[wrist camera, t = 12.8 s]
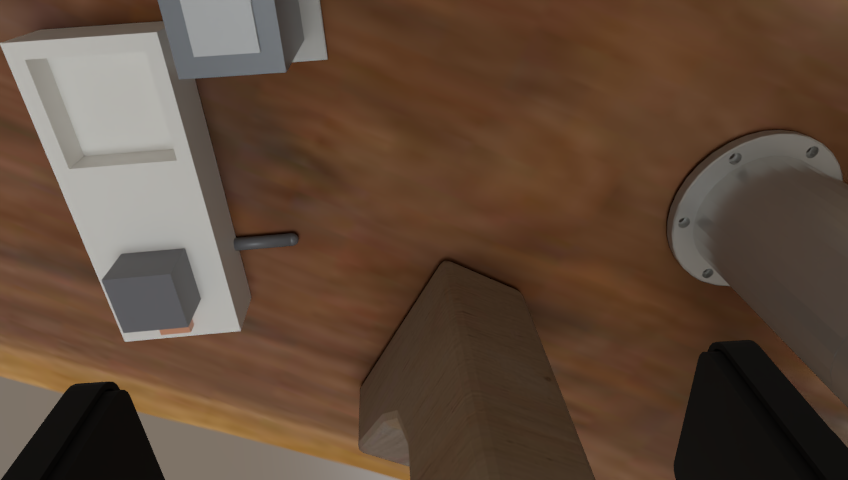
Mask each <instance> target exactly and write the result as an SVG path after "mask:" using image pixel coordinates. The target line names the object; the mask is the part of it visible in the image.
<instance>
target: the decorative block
mask: <svg viewBox="0 0 848 480" xmlns="http://www.w3.org/2000/svg"><path fill="white" fill-rule="evenodd" d="M358 446H359V449H360V450H361V451H362V452H363V453H366V454H369V455H373V456H376V457H379V458H383V459H386V460H389V461H393V462H396V463H399V464H403V465H406V466H410V480H595V477H594V475H593V472H592V470H591V467H590V465H589V462H588V460H587V457H586V454H585V452H584V449H583V447H582V444H581V442H580V439H579V437H578V434H577V432H576V429H575V427H574V424H573V422H572V419H571V416H570V414H569V411H568V409H567V406H566V404H565V401H564V399H563V396H562V394H561V391H560V389H559V386H558V383H557V381H556V378H555V376H554V373H553V371H552V368H551V366H550V363H549V361H548V358H547V356H546V353H545V351H544V348H543V345H542V343H541V340H540V338H539V335H538V333H537V330H536V328H535V325H534V323H533V320H532V318H531V315H530V313H529V310H528V307H527V305H526V302H525V300H524V297H523V295H522V294H521V293H520V292H519V291H517V290H515V289H513V288H511V287H508V286H506V285H504V284H501V283H499V282H497V281H494V280H492V279H490V278H487V277H485V276H483V275H480V274H478V273H476V272H473V271H471V270H469V269H467V268H464V267H462V266H460V265H457V264H455V263H453V262H450V261H443V262H442V263H441V264H440V265H439V267H438V269H437V270H436V272H435V273H434V275H433V276H432V278H431V279H430V281H429V282H428V284H427V286H426V287H425V289H424V290H423V292H422V293H421V295H420V296H419V298H418V299H417V301H416V303H415V304H414V306H413V307H412V309H411V310H410V312H409V313H408V315H407V317H406V318H405V320H404V321H403V323H402V324H401V326H400V327H399V329H398V330H397V332H396V334H395V335H394V337H393V338H392V340H391V341H390V343H389V344H388V346H387V348H386V349H385V351H384V352H383V354H382V355H381V357H380V358H379V360H378V362H377V363H376V365H375V366H374V368H373V369H372V371H371V372H370V374H369V376H368V377H367V379H366V380H365V382H364V383H363V385H362V387H361V388H360V408H359V444H358Z"/></svg>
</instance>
